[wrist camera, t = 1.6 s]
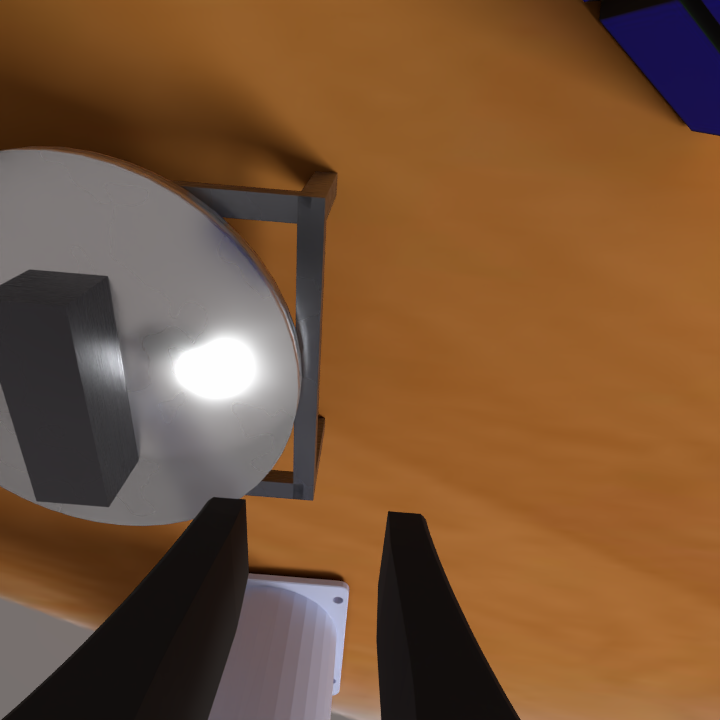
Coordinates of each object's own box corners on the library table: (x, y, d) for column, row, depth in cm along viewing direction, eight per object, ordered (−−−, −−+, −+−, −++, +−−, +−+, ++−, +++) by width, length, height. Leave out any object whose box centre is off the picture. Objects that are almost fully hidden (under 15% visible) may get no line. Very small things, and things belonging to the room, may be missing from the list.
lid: (298, 521, 18) (285, 591, 16) (-38, 493, 18) (-104, 559, 16) (306, 167, 12) (288, 188, 10) (-183, 125, 12) (-323, 137, 10)
